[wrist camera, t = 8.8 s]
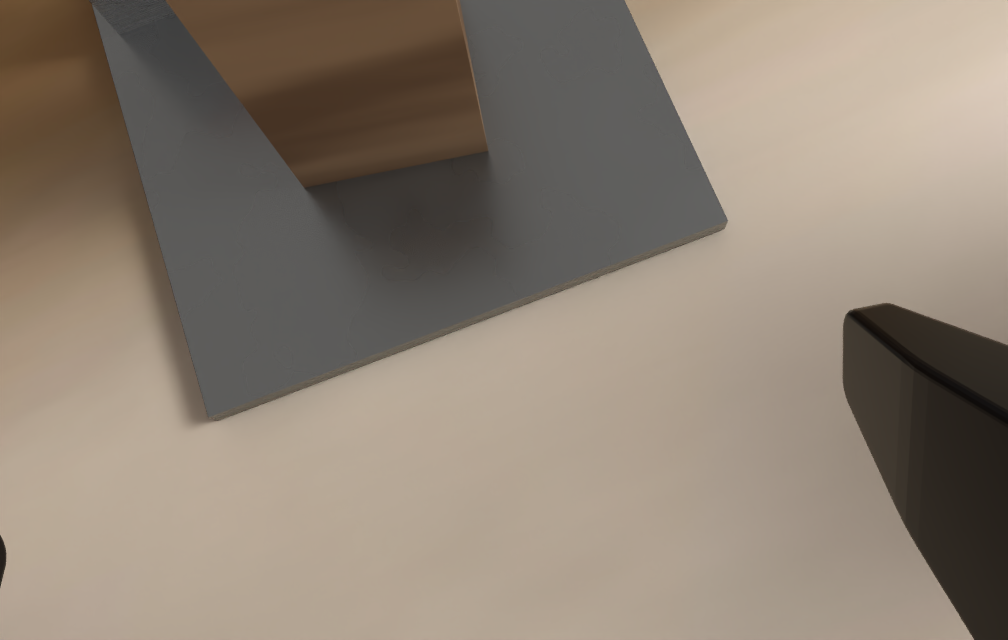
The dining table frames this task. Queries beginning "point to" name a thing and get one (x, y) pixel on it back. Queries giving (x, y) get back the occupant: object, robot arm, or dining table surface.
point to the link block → (346, 79)
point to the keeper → (402, 196)
